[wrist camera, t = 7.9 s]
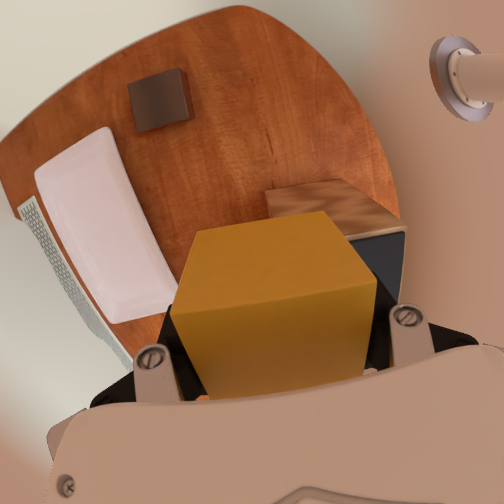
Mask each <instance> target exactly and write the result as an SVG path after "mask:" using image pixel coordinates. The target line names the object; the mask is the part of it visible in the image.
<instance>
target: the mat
mask: <svg viewBox="0 0 504 504" xmlns="http://www.w3.org/2000/svg"><path fill="white" fill-rule="evenodd" d="M348 242H349V243H350V244H351V245H352V247H353V248H354V249H355V251H356V252H357V253H358V255H359V256H360V257H361V259H362V260H363V261H364V263H365V264H366V265H367V267H368V268H369V269H370V271H374V272H375V273H376V274H377V276H378V277H379V279H380V280H381V281H382V283H383V284H384V285H385V287H386V288H387V290H388V291H389V292H390V294H391V295H392V297H393V298H394V299H395V301H396V302H397V304H398V298H399V291H400V284H401V276H402V267H403V258H404V246H405V232H404V231H399V232H394V233H389V234H384V235H379V236H373V237H368V238H363V239H358V240H352V241H348Z"/></svg>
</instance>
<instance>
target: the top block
mask: <svg viewBox="0 0 504 504" xmlns="http://www.w3.org/2000/svg"><path fill="white" fill-rule="evenodd" d="M376 287H377V279H376V278H375V276H374V275H373V274H372V272H371V271H370V269H369V268H368V267H367V265H366V264H365V263H364V261H363V260H362V259H361V257H360V256H359V255H358V253H357V252H356V251H355V249H354V248H353V247H352V245H351V244H350V243H349V242H348V240H347V239H346V238H345V236H344V235H343V234H342V233H341V231H340V230H339V229H338V228H337V226H336V225H335V224H334V223H333V221H332V220H331V219H330V218H329V216H328V215H327V214H326V213H325V212H324V211H316V212H309V213H303V214H296V215H290V216H284V217H277V218H271V219H265V220H259V221H253V222H247V223H241V224H235V225H229V226H224V227H218V228H212V229H207V230H201V231H197V233H196V235H195V238H194V241H193V244H192V247H191V250H190V252H189V255H188V258H187V261H186V264H185V267H184V270H183V273H182V276H181V279H180V282H179V285H178V288H177V291H176V294H175V297H174V301H173V304H172V307H171V310H170V316H171V319H172V321H173V323H174V326H175V328H176V330H177V332H178V335H179V337H180V339H181V341H182V343H183V346H184V348H185V350H186V352H187V354H188V356H189V358H190V360H191V363H192V365H193V367H194V369H195V371H196V373H197V375H198V377H199V379H200V381H201V383H202V384H203V386H204V388H205V390H206V392H207V394H208V396H209V398H210V400H219V399H232V398H242V397H251V396H259V395H267V394H274V393H281V392H287V391H293V390H299V389H305V388H310V387H315V386H320V385H325V384H330V383H334V382H339V381H343V380H347V379H351V378H355V377H359V376H363V372H364V367H365V362H366V357H367V352H368V346H369V340H370V334H371V327H372V320H373V313H374V305H375V296H376Z"/></svg>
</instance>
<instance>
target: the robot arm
mask: <svg viewBox="0 0 504 504" xmlns="http://www.w3.org/2000/svg"><path fill="white" fill-rule="evenodd" d="M448 71H449V77H450V81H451V84H452V86H453V88H454V90H455V92H456V94H457V96H458V97H459V98H460V100H461V101H462V102H463V103H464V104H466V105H467V106H469V107H471V108H476V109H479V108H482V107H484V106H485V105H486V104H487V102H489V103H497V104H504V53H491V54H476V55H475V54H474V53H473V52H472V51H470V50H468V49H464V48H460V49H456V50H454V51H453V52H452V53H451V55H450V57H449V61H448ZM371 272H372V274H373V275H374V276H375V278H376V279H377V287H376V296H375V305H374V313H373V320H372V327H371V334H370V340H369V346H368V352H367V357H366V362H365V367H364V369H368V368H375V369H377V372H375V373H371V374H367V375H363V376H359V377H355V378H351V379H347V380H343V381H339V382H334V383H330V384H325V385H320V386H315V387H310V388H305V389H299V390H293V391H287V392H281V393H274V394H267V395H259V396H251V397H242V398H232V399H219V400H204V401H197V400H196V399H197V398H198V397H199V396H200V395H208V394H207V392H206V390H205V388H204V386H203V384H202V383H201V381H200V379H199V377H198V375H197V373H196V371H195V369H194V367H193V365H192V363H191V360H190V358H189V356H188V354H187V352H186V350H185V348H184V346H183V343H182V341H181V339H180V337H179V335H178V332H177V330H176V328H175V326H174V323H173V321H172V319H171V316H170V310H171V307H172V304H170V305H169V306H168V309H167V312H166V315H165V319H164V322H163V325H162V328H161V331H160V335H159V338H158V341H157V344H150V345H147V346H145V347H143V348H142V349H140V350H139V351H138V352H137V353H136V355H135V357H134V359H133V371H132V372H130V373H129V374H127V375H126V376H124V377H123V378H122V379H120V380H119V381H117V382H116V383H114V384H113V385H111V386H110V387H108V388H107V389H105V390H104V391H102V392H101V393H100V394H98V395H97V396H96V397H95V398H94V399H93V400H92V402H91V404H90V409H86V408H84V409H82V410H81V411H79V412H77V413H76V414H74V415H72V416H70V417H69V418H67V419H65V420H63V421H62V422H60V423H58V424H56V425H55V426H53V427H52V428H51V429H50V430H49V432H48V434H47V444H48V446H49V450H50V453H51V456H52V459H53V465H52V468H51V472H50V477H49V480H48V485H47V490H46V494H45V499H44V504H504V348H500V347H496V346H492V345H487V344H483V345H479V343H478V342H477V340H476V339H475V338H473V337H472V336H470V335H468V334H464V333H461V332H458V331H454V330H451V329H447V328H444V327H441V326H438V325H434V324H431V323H428V321H427V317H426V314H425V312H424V310H423V309H422V308H420V307H418V306H417V305H415V304H411V303H401V304H397V302H396V301H395V299H394V298H393V297H392V295H391V294H390V292H389V291H388V290H387V288H386V287H385V285H384V284H383V283H382V281H381V280H380V279H379V277H378V276H377V274H376V273H375V272H374V271H371Z"/></svg>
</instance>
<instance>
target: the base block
mask: <svg viewBox="0 0 504 504" xmlns="http://www.w3.org/2000/svg"><path fill="white" fill-rule="evenodd" d="M127 86H128V91H129V96H130V101H131V106H132V111H133V115H134V120H135V124H136V129H137V133H141V132H147V131H151V130H155V129H158V128H161V127H165V126H168V125H172V124H175V123H179V122H183V121H186V120H190V119H194V118H195V114H194V110H193V105H192V100H191V95H190V91H189V86H188V81H187V76H186V73H185V72H183V71H182V70H181V69H180V68H175V69H171V70H168V71H165V72H162V73H158V74H155V75H152V76H149V77H146V78H143V79H141V80H138V81H135V82H132V83H130V84H127Z"/></svg>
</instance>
